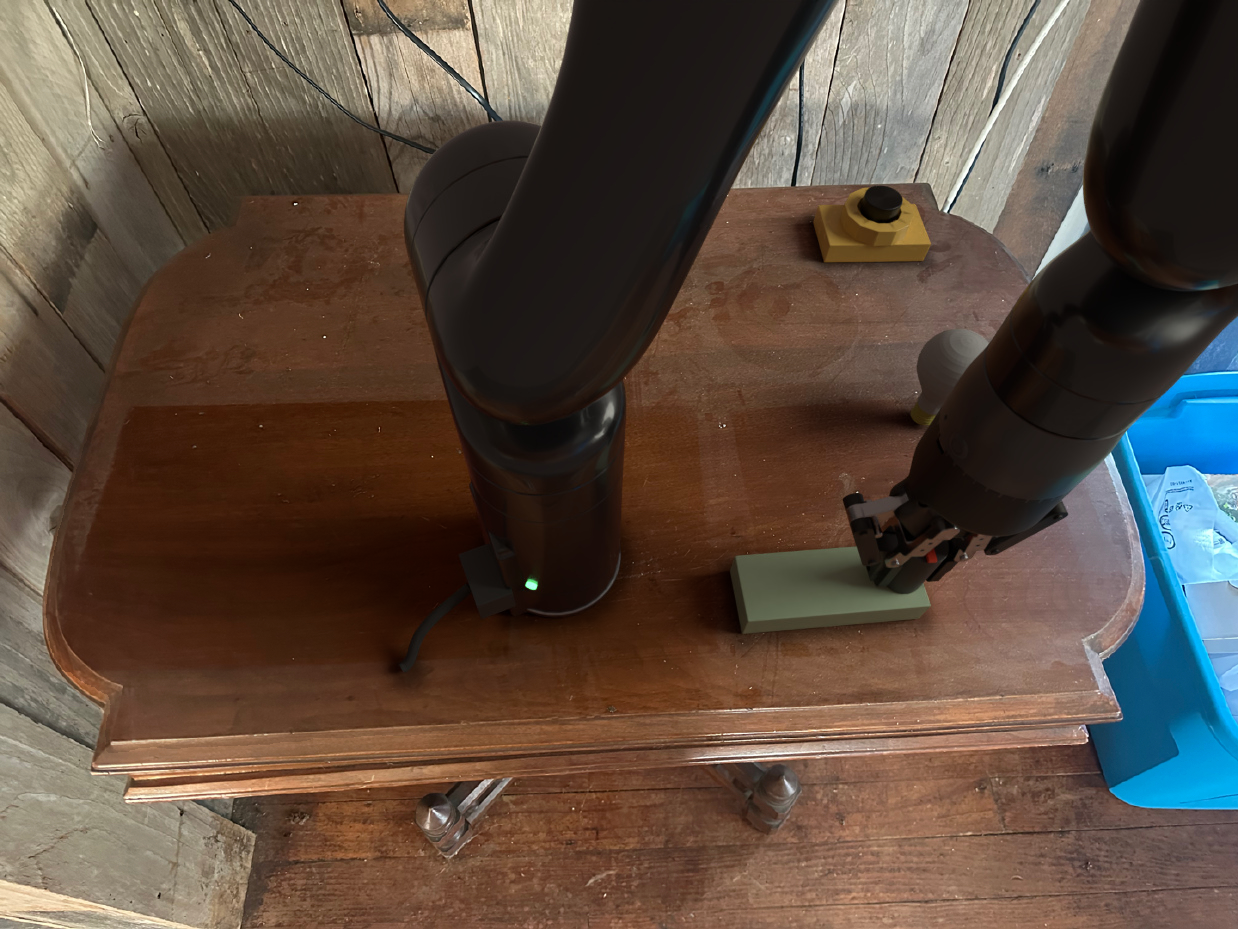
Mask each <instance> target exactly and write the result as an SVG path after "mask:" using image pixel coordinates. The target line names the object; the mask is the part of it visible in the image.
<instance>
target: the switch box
mask: <svg viewBox="0 0 1238 929" xmlns="http://www.w3.org/2000/svg"><path fill="white" fill-rule="evenodd" d="M869 188H870V187H862V188H860V189H857V190H855V191H852V192H851V193H849V195H848V196H847V198H846V200H845V202H844V204H818V205H817V208H816V211H815V215H814V218H813V222H812V223H813V226H814V230H815V235H816V237H817V240H818V245H819V249H820V252H821V256H822V259H823V263H876V262H877V263H878V262H879V263H882V262H883V263H884V262H889V263H890V262H891V263H892V262H923V261H924V260H925V258H926V257H927V254H928V252H929V249H930V248H931V246H932V243H931V240H930V238H929V235H928V232H927V231H926V230H927V229H926V227H925V225H924V222H923V219H922V217H921V214H920V212H919V209H918V207H917V205H916V204H917V203H911V202H909V200H907V198H905V197H904V196H902V199H903V202H902V205H901V208H900V210H899V212H898V215H897V217H896V219H895V220H894V221H893V222H891V223H876V222H873V221H870V220H867V219H866V218H865V217H864V216H863V215H861V213H860V206H861V203H862V200H863V197H864V194H865V192H866V191H867V189H869Z"/></svg>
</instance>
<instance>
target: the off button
mask: <svg viewBox="0 0 1238 929" xmlns="http://www.w3.org/2000/svg"><path fill="white" fill-rule="evenodd" d="M868 188H869V189H867V191H866V192H865V194H864V197H863V200H862V203H861V206H860V213H861V215H863V216H864V217H865V218H866V219H867V220H870V221H873V222H876V223H891V222H893V221H894V220H895V219H896V217H897V215H898V212H899V210H900V208H901V205H902V202H903V199H902V197H903V196H902V194H901V193H900V192H899V191H898V190H896V189H895V188H893V187H890V186H887V185H881V184H880V185H873V186H870V187H868Z"/></svg>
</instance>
